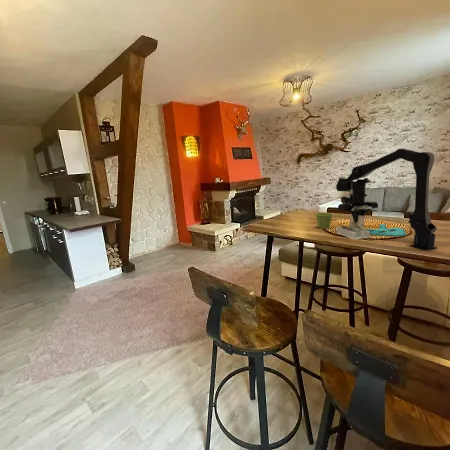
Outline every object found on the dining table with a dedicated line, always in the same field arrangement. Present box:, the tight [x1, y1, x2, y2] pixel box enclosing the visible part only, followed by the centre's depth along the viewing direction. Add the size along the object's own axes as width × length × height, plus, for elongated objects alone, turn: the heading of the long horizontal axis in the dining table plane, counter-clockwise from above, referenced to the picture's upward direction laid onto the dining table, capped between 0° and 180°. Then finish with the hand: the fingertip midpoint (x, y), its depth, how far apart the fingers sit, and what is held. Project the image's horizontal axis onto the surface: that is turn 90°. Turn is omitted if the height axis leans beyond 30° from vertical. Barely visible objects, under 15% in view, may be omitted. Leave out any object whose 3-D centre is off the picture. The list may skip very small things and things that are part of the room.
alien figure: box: [364, 223, 407, 238], centre depth 133 cm, size 20×2×20 cm
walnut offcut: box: [340, 225, 351, 231], centre depth 131 cm, size 6×1×4 cm, turn 11°
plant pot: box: [315, 212, 334, 229], centre depth 148 cm, size 9×9×9 cm
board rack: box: [334, 224, 371, 240], centre depth 130 cm, size 14×10×4 cm
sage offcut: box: [350, 227, 360, 237], centre depth 128 cm, size 6×1×4 cm, turn 11°
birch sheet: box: [349, 213, 366, 232], centre depth 130 cm, size 9×1×10 cm, turn 11°
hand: (356, 222), depth 129 cm, fingers closed on birch sheet, 1 cm apart
